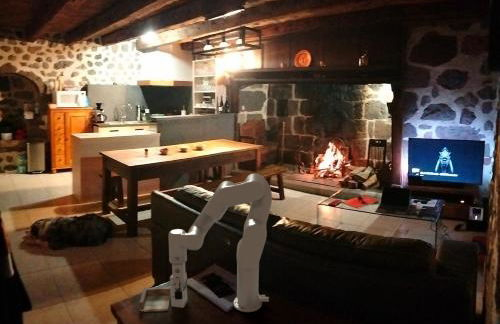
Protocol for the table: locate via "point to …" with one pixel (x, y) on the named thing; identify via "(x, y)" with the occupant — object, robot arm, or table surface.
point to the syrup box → (184, 293)
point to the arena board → (155, 299)
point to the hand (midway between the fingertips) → (179, 294)
